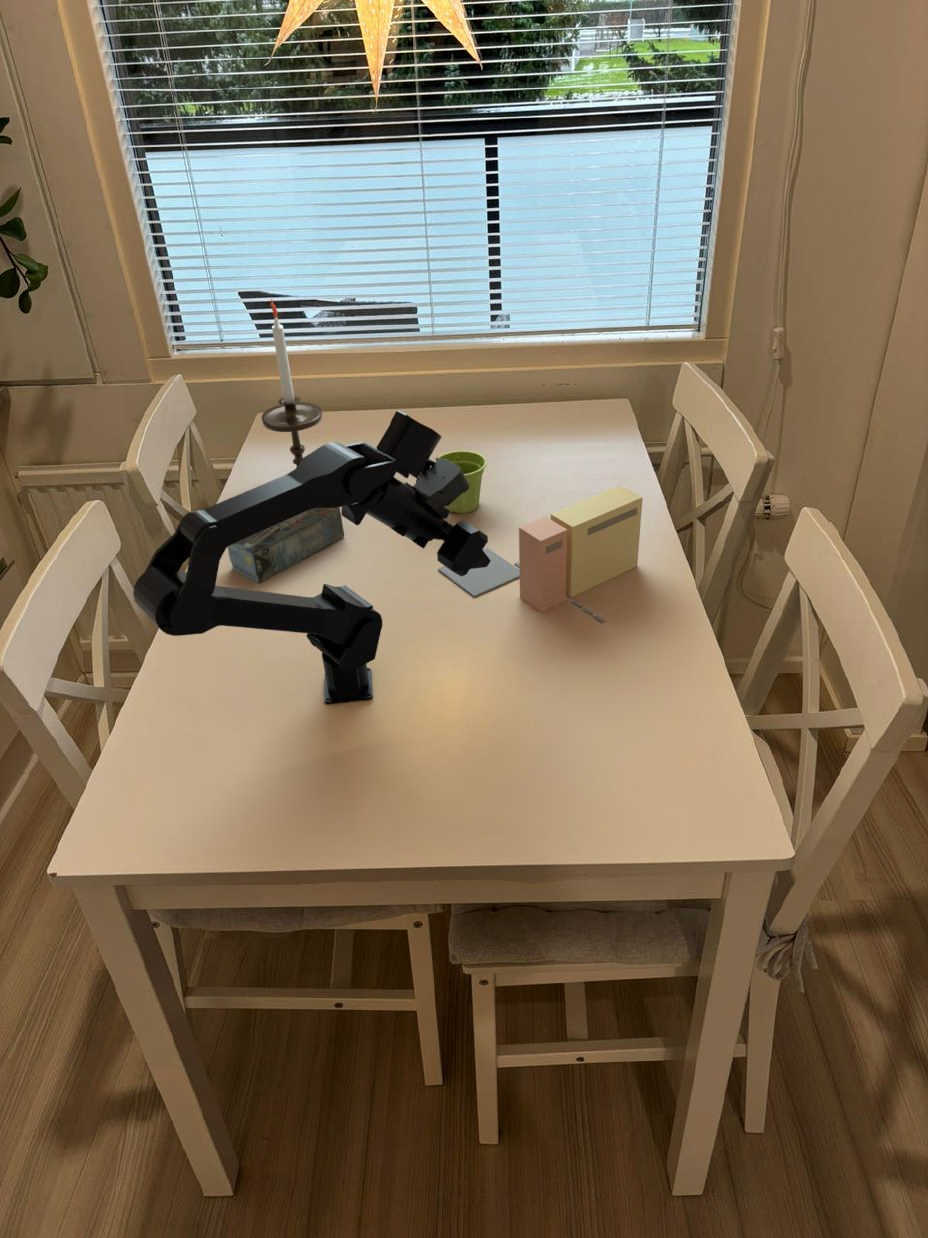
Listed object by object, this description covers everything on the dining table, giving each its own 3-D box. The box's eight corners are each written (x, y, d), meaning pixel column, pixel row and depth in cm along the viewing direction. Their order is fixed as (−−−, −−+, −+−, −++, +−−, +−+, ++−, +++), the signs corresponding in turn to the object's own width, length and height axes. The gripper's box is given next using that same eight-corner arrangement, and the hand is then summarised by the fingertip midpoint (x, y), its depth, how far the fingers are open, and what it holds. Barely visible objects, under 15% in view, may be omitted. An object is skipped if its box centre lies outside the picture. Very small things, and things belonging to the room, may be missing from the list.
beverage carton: (229, 569, 154) (221, 534, 150) (318, 523, 165) (312, 490, 161) (258, 585, 150) (251, 550, 146) (347, 537, 161) (343, 504, 157)
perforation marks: (601, 622, 137) (601, 621, 137) (514, 564, 151) (514, 563, 151) (604, 621, 137) (604, 620, 137) (517, 562, 151) (517, 561, 151)
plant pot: (496, 511, 165) (494, 467, 160) (447, 523, 163) (444, 479, 158) (476, 489, 172) (474, 446, 167) (428, 500, 170) (425, 457, 165)
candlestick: (268, 479, 179) (234, 296, 159) (322, 467, 183) (295, 286, 162) (283, 503, 171) (248, 313, 151) (339, 490, 175) (312, 302, 154)
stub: (540, 612, 140) (540, 541, 132) (519, 597, 143) (518, 527, 136) (565, 600, 142) (567, 529, 135) (544, 585, 145) (545, 516, 138)
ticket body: (571, 597, 142) (572, 527, 135) (549, 583, 146) (550, 513, 139) (637, 566, 149) (642, 497, 141) (615, 553, 152) (619, 485, 145)
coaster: (474, 597, 144) (474, 595, 144) (438, 570, 150) (438, 568, 150) (524, 574, 148) (524, 573, 148) (487, 549, 155) (487, 547, 155)
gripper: (473, 476, 111) (543, 527, 123) (390, 427, 124) (460, 477, 135) (422, 554, 112) (496, 597, 123) (345, 498, 125) (419, 541, 136)
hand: (468, 549), depth 129 cm, fingers open, 9 cm apart
